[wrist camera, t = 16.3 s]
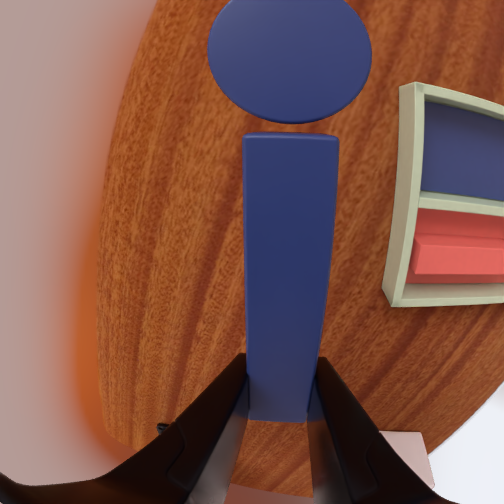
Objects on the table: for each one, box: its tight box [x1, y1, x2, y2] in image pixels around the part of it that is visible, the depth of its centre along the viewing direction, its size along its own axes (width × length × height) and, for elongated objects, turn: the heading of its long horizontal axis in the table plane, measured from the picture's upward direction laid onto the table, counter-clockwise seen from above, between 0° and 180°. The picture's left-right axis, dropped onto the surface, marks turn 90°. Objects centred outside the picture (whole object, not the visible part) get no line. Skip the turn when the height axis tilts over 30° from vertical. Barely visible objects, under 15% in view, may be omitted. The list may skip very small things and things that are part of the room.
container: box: [379, 431, 435, 489], centre depth 21 cm, size 8×8×13 cm
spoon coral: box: [409, 232, 504, 274], centre depth 16 cm, size 12×4×2 cm, turn 91°
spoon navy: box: [207, 0, 372, 423], centre depth 7 cm, size 12×4×2 cm, turn 0°
